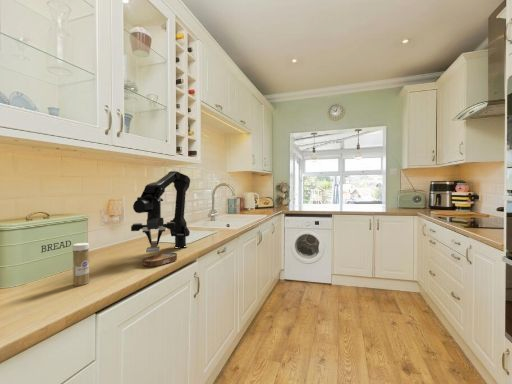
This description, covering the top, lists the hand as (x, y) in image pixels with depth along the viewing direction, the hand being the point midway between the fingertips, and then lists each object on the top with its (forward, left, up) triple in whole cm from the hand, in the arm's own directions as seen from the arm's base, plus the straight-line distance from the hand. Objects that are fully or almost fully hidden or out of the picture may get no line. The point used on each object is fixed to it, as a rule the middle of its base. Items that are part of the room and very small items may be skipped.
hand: (154, 244), depth 117 cm
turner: (+3, 0, -1) cm, 3 cm away
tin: (+6, 0, -5) cm, 8 cm away
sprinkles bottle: (+27, -21, -6) cm, 35 cm away
